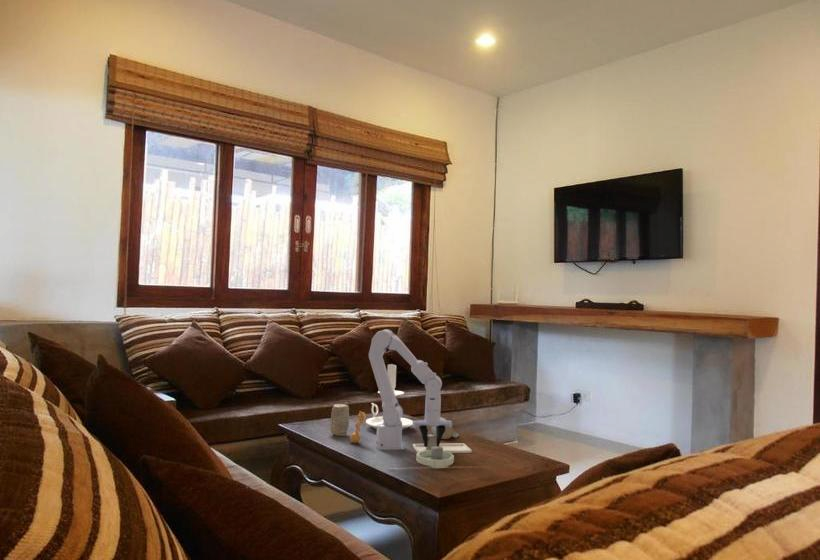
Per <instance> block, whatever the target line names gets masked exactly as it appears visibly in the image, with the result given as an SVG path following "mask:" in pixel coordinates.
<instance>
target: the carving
mask: <svg viewBox="0 0 820 560" xmlns="http://www.w3.org/2000/svg"><path fill="white" fill-rule="evenodd" d="M330 416H331V417H330V428H329V429H330V433H331V434H333V435H334V436H338V437H343V436H344V437H345V436H347V434H348V430H349V425H350V407H349V405H348V404H345V403H343V404H342V403H337V404H334V405H333V406H332V409H331V415H330Z"/></svg>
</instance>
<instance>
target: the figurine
mask: <svg viewBox="0 0 820 560" xmlns="http://www.w3.org/2000/svg"><path fill="white" fill-rule="evenodd" d="M357 418H358V419H357ZM367 419H368V418H367V417H366V412H363V411H361V410H360V411H359V413H358V414H357V416H355V418H354V419H353V423H354V422H355V421H356V420H357V422H356V423H355V424H354V427H355V428H356V430H355V431H354V432H352V433H351V434H350V437H349V439H350V442H351V443H353V444H357V443H359V442H360V441H361V435H360V431H361V426H362V425H363V426H362V427H365V426H366V424H367V423H366V420H367ZM363 420H364V423H363Z"/></svg>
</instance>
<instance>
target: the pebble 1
mask: <svg viewBox="0 0 820 560" xmlns="http://www.w3.org/2000/svg"><path fill="white" fill-rule="evenodd" d="M434 446H437V435H434V434H427V447H426V450H431V447H434Z"/></svg>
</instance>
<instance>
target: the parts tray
mask: <svg viewBox="0 0 820 560" xmlns="http://www.w3.org/2000/svg"><path fill="white" fill-rule="evenodd" d="M412 447H413V449H414V450H415V451H416V454H417V453H418V452H419V451H424V450H426V447H425V446H424V443H413V444H412ZM439 447H442V448H443V451H446V452H449V453H452V454H472V451H473V450H472V449H471V448H470V447H469V446H468V445H467V444H466V443H460V442H459V443H457V442H454V443H452V442H451V443H446V442H445V443H440V444H439Z"/></svg>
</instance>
